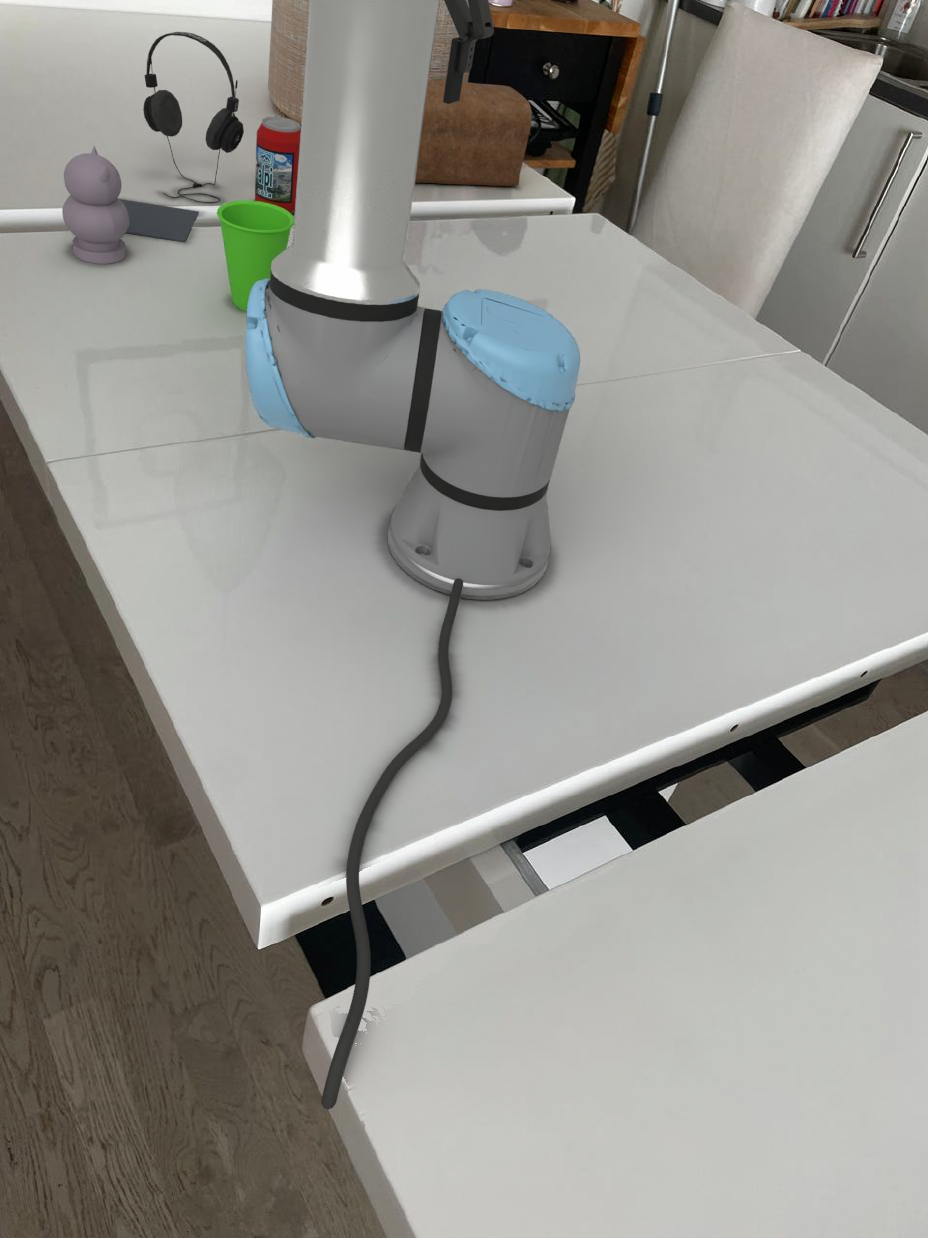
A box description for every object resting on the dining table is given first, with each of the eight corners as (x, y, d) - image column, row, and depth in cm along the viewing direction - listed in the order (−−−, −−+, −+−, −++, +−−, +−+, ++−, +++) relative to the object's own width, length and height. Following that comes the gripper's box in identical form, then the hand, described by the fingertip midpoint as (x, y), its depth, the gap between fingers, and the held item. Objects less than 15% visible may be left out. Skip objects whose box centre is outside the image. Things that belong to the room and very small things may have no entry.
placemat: (185, 241, 133) (185, 240, 133) (100, 229, 131) (100, 227, 131) (198, 212, 141) (198, 211, 141) (119, 200, 139) (119, 198, 139)
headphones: (119, 181, 144) (110, 27, 131) (161, 163, 153) (156, 16, 140) (211, 210, 142) (211, 56, 129) (248, 189, 151) (252, 43, 138)
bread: (520, 189, 173) (538, 101, 163) (333, 181, 160) (341, 85, 150) (490, 160, 182) (505, 76, 172) (311, 150, 169) (317, 58, 159)
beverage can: (245, 206, 146) (247, 119, 138) (272, 195, 150) (275, 111, 143) (282, 220, 144) (287, 133, 136) (309, 210, 149) (314, 125, 141)
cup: (207, 288, 124) (207, 199, 116) (277, 286, 127) (282, 200, 120) (226, 321, 118) (228, 230, 111) (299, 318, 122) (305, 230, 115)
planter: (468, 113, 203) (498, -75, 181) (448, 167, 175) (481, -48, 154) (293, 75, 201) (302, -119, 180) (244, 123, 174) (249, -100, 152)
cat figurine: (59, 239, 127) (49, 141, 119) (122, 238, 130) (116, 142, 122) (73, 268, 121) (64, 167, 114) (138, 265, 125) (133, 168, 117)
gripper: (549, -112, 101) (508, 110, 115) (345, -167, 107) (329, 50, 121) (518, -111, 96) (479, 121, 110) (305, -170, 102) (294, 58, 116)
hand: (400, 84), depth 116 cm, fingers open, 13 cm apart
